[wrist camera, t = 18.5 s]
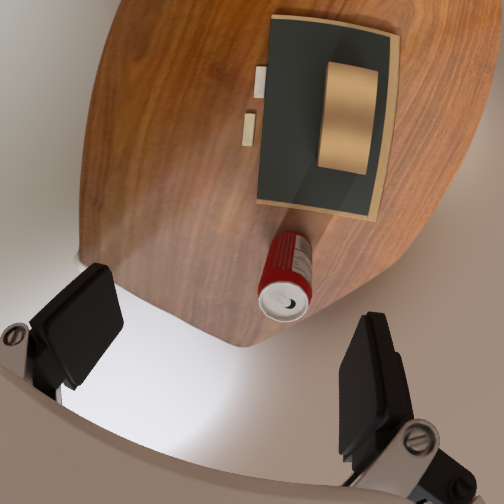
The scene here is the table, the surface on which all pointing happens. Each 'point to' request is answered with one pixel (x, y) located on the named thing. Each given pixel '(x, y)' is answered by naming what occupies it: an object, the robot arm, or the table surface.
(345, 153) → the eraser
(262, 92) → the white chalk stick
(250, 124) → the chalk mark
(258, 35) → the table surface
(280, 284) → the soda can
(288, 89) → the chalkboard
